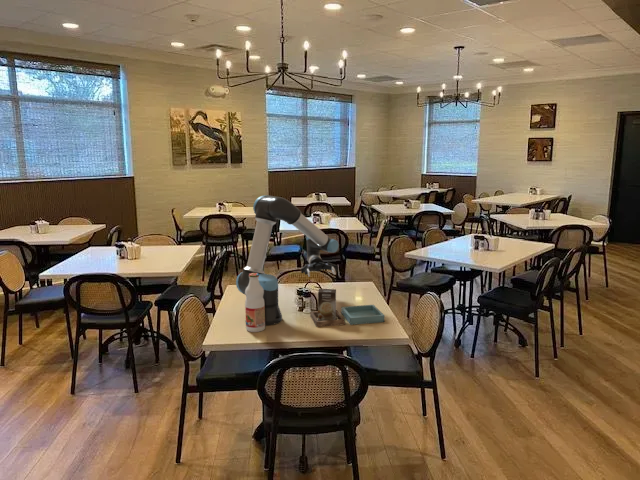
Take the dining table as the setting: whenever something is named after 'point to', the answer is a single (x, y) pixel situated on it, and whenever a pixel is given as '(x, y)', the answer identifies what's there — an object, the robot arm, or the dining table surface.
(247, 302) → the fruit juice
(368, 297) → the dining table surface
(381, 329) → the dining table surface
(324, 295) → the coffee box
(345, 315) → the teal tray
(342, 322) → the walnut frame
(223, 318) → the dining table surface
